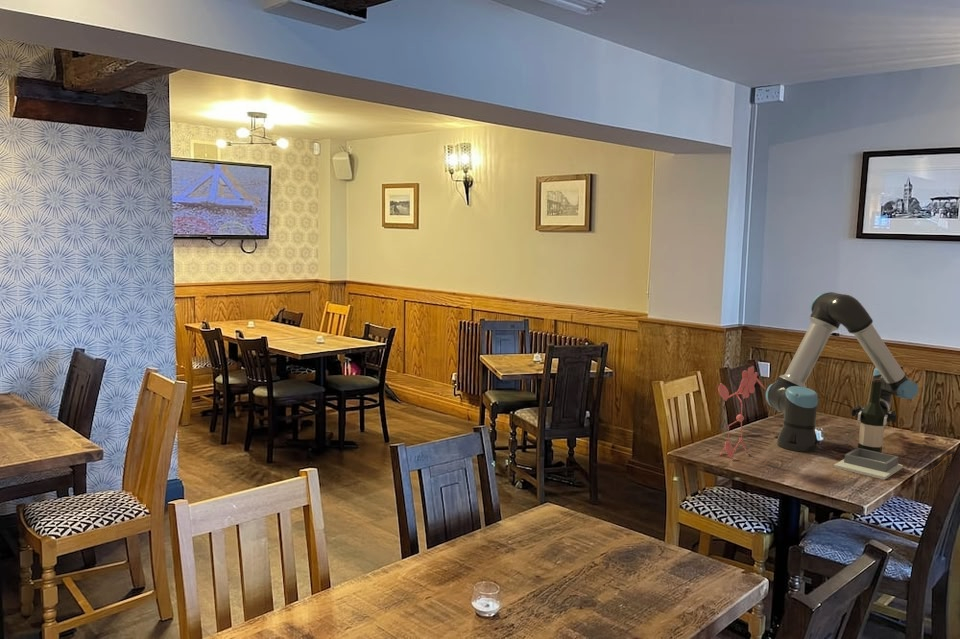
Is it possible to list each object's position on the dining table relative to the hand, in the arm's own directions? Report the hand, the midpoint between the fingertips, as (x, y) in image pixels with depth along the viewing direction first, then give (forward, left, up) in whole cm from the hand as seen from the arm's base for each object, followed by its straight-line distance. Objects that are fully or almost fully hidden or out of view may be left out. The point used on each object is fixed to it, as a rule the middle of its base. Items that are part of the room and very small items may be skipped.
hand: (871, 419), depth 272 cm
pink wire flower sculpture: (-51, -1, -15) cm, 53 cm away
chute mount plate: (-8, -12, -15) cm, 21 cm away
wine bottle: (+3, +4, -15) cm, 16 cm away
